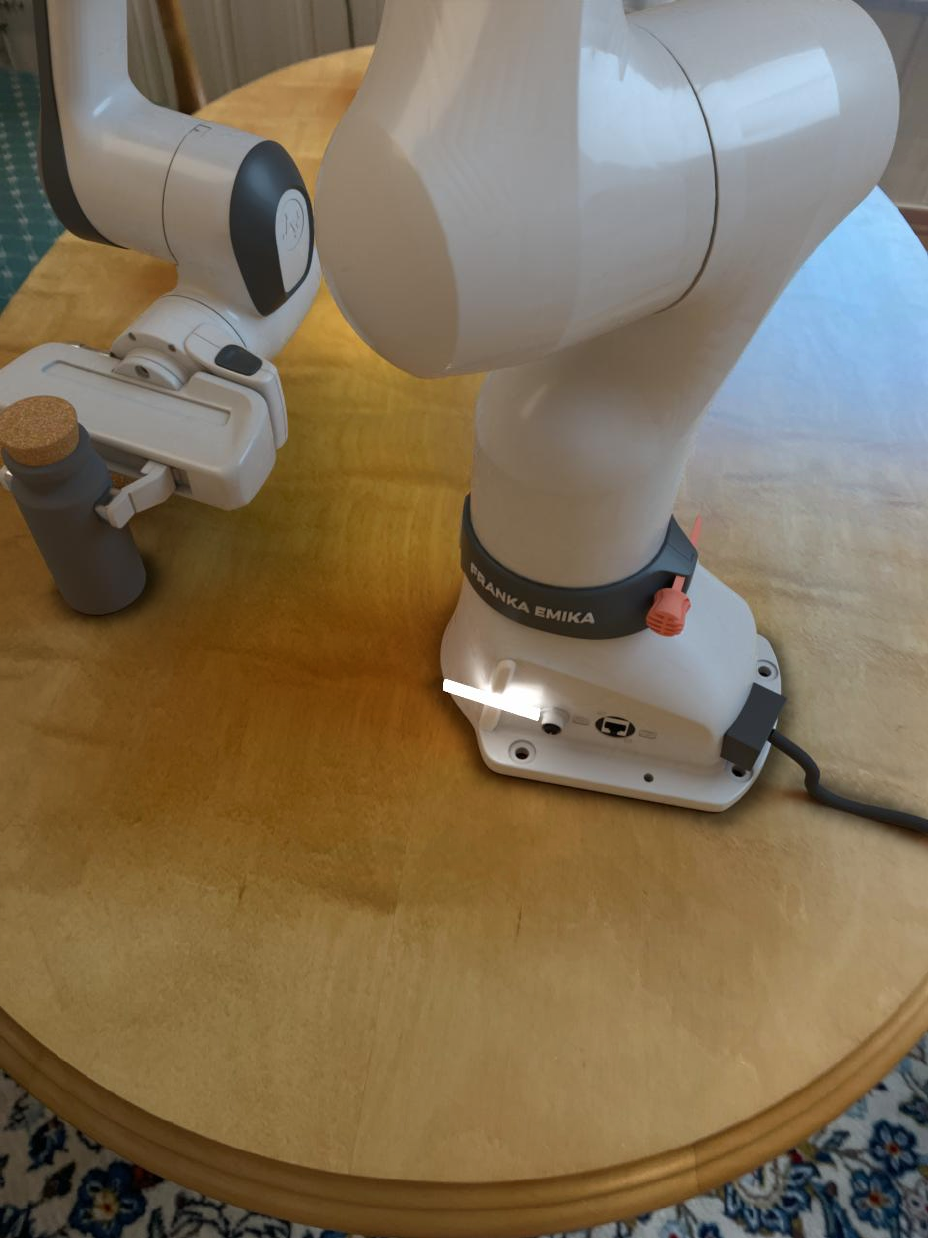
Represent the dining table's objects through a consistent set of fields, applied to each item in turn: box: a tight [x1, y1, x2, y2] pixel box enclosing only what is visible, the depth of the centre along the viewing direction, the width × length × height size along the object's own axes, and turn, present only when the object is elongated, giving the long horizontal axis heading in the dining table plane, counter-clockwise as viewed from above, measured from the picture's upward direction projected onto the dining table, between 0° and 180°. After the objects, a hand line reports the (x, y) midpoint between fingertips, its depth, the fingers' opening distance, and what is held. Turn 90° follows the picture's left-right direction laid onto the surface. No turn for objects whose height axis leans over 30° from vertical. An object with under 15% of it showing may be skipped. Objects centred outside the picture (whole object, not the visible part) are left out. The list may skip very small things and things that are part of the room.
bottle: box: [0, 395, 147, 616], centre depth 63 cm, size 6×6×15 cm
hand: (57, 502), depth 61 cm, fingers closed on bottle, 6 cm apart
